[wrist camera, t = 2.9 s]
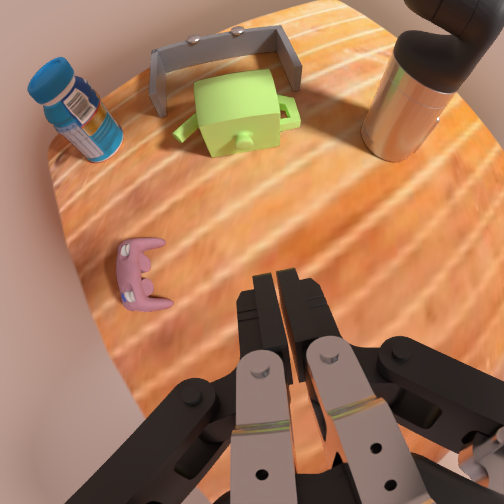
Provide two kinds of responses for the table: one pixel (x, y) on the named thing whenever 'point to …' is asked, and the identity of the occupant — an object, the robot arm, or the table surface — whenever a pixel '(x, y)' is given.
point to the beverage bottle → (76, 110)
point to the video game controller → (138, 275)
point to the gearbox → (239, 113)
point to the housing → (220, 56)
